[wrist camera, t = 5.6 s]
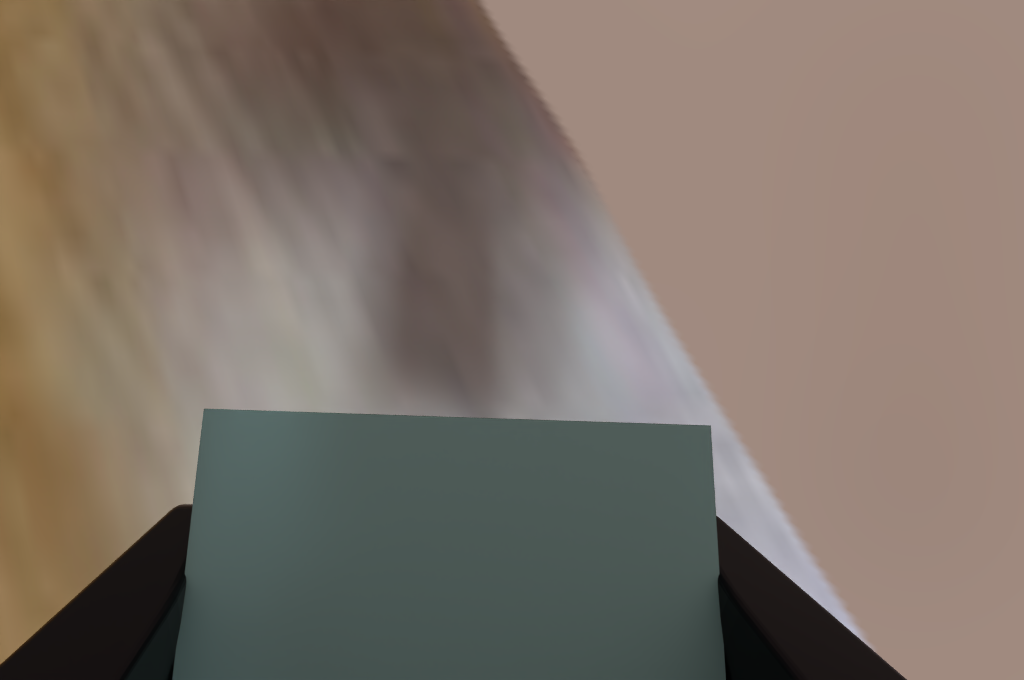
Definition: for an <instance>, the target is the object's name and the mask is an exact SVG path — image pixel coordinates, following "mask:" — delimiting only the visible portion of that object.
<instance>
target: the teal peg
mask: <svg viewBox="0 0 1024 680" xmlns="http://www.w3.org/2000/svg"><path fill="white" fill-rule="evenodd" d="M719 574H720V573H719V557H718V540H717V523H716V507H715V490H714V473H713V457H712V440H711V426H707V425H677V424H647V423H617V422H587V421H557V420H527V419H497V418H467V417H437V416H407V415H377V414H347V413H317V412H287V411H257V410H227V409H204V413H203V421H202V430H201V438H200V447H199V455H198V464H197V473H196V481H195V490H194V498H193V507H192V515H191V524H190V533H189V541H188V550H187V558H186V567H185V576H186V589H185V597H184V604H183V611H182V618H181V624H180V630H179V635H178V640H177V646H176V652H175V661H174V670H173V678H172V680H726V673H725V657H724V642H723V634H722V626H721V618H720V606H719V594H718V576H719Z"/></svg>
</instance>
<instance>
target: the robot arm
mask: <svg viewBox="0 0 1024 680" xmlns="http://www.w3.org/2000/svg"><path fill="white" fill-rule="evenodd" d="M192 507H193V504H183V505H178V506H177V507H175V508H173V509H172V510H171V511H170V512H168V513H167V514H166V515H165V516H164V517H163V518H162V519H161V520H160V521H158V522H157V523H156V524H155V525H154V526H153V527H152V528H151V529H150V530H149V531H147V532H146V533H145V534H144V535H143V536H142V537H141V538H140V539H139V540H137V541H136V542H135V543H134V544H133V545H132V546H131V547H130V548H129V549H128V550H126V551H125V552H124V553H123V554H122V555H121V556H120V557H119V558H118V559H117V560H115V561H114V562H113V563H112V564H111V565H110V566H109V567H108V568H107V569H105V570H104V571H103V572H102V573H101V574H100V575H99V576H98V577H97V578H96V579H94V580H93V581H92V582H91V583H90V584H89V585H88V586H87V587H86V588H84V589H83V590H82V591H81V592H80V593H79V594H78V595H77V596H76V597H75V598H73V599H72V600H71V601H70V602H69V603H68V604H67V605H66V606H65V607H64V608H62V609H61V610H60V611H59V612H58V613H57V614H56V615H55V616H54V617H52V618H51V619H50V620H49V621H48V622H47V623H46V624H45V625H44V626H43V627H41V628H40V629H39V630H38V631H37V632H36V633H35V634H34V635H33V636H31V637H30V638H29V639H28V640H27V641H26V642H25V643H24V644H23V645H22V646H20V647H19V648H18V649H17V650H16V651H15V652H14V653H13V654H12V655H11V656H9V657H8V658H7V659H6V660H5V661H4V662H3V663H2V664H1V665H0V680H172V678H173V670H174V661H175V652H176V646H177V640H178V635H179V630H180V624H181V618H182V611H183V604H184V597H185V589H186V576H185V567H186V558H187V550H188V541H189V533H190V524H191V515H192ZM716 523H717V540H718V557H719V573H720V574H719V576H718V594H719V606H720V618H721V626H722V634H723V642H724V657H725V673H726V680H907V679H905V678H904V677H903V676H902V675H901V674H900V673H898V672H897V671H896V670H895V669H894V668H893V667H891V666H890V665H889V664H888V663H887V662H886V661H885V660H883V659H882V658H881V657H880V656H879V655H878V654H876V653H875V652H874V651H873V650H872V649H871V648H869V647H868V646H867V645H866V644H865V643H864V642H863V641H861V640H860V639H859V638H858V637H857V636H856V635H854V634H853V633H852V632H851V631H850V630H849V629H847V628H846V627H845V626H844V625H843V624H842V623H840V622H839V621H838V620H837V619H836V618H835V617H834V616H832V615H831V614H830V613H829V612H828V611H827V610H825V609H824V608H823V607H822V606H821V605H820V604H818V603H817V602H816V601H815V600H814V599H813V598H812V597H810V596H809V595H808V594H807V593H806V592H805V591H803V590H802V589H801V588H800V587H799V586H798V585H796V584H795V583H794V582H793V581H792V580H791V579H790V578H788V577H787V576H786V575H785V574H784V573H783V572H781V571H780V570H779V569H778V568H777V567H776V566H774V565H773V564H772V563H771V562H770V561H769V560H767V559H766V558H765V557H764V556H763V555H762V554H761V553H759V552H758V551H757V550H756V549H755V548H754V547H752V546H751V545H750V544H749V543H748V542H747V541H745V540H744V539H743V538H742V537H741V536H740V535H739V534H737V533H736V532H735V531H734V530H733V529H732V528H730V527H729V526H728V525H727V524H726V523H725V522H723V521H722V520H721V519H720V518H719V517H718V516H716Z"/></svg>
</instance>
